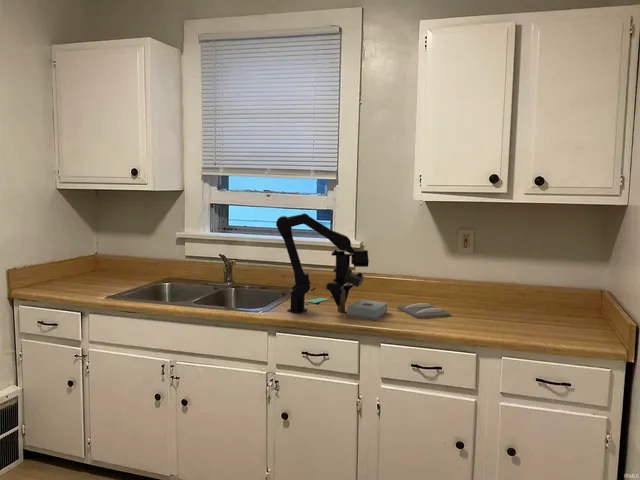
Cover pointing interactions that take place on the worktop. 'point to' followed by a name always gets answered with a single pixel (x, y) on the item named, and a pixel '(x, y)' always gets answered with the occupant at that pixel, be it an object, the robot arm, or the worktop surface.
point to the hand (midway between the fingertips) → (341, 304)
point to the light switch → (423, 311)
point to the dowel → (342, 302)
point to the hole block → (367, 309)
